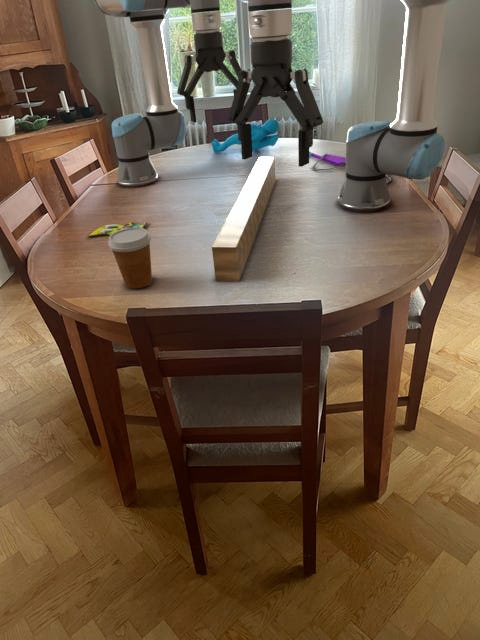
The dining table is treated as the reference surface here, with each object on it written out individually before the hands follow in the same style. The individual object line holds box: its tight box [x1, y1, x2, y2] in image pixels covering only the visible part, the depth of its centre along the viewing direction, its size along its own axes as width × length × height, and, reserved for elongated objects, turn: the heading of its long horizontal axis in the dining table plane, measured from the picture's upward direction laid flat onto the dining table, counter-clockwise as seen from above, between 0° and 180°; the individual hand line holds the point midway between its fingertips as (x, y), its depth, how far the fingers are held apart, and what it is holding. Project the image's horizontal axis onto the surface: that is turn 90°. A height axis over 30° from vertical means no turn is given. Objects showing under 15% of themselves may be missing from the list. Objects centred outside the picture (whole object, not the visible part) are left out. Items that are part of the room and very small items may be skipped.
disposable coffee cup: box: [107, 227, 153, 289], centre depth 110 cm, size 10×10×12 cm
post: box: [211, 155, 277, 282], centre depth 139 cm, size 75×6×8 cm, turn 170°
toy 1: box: [88, 221, 148, 238], centre depth 142 cm, size 10×1×15 cm
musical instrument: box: [309, 151, 346, 171], centre depth 185 cm, size 24×2×20 cm
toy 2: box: [210, 118, 280, 154], centre depth 207 cm, size 17×11×30 cm
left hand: (216, 118), depth 137 cm, fingers open, 13 cm apart
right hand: (274, 161), depth 96 cm, fingers open, 13 cm apart
